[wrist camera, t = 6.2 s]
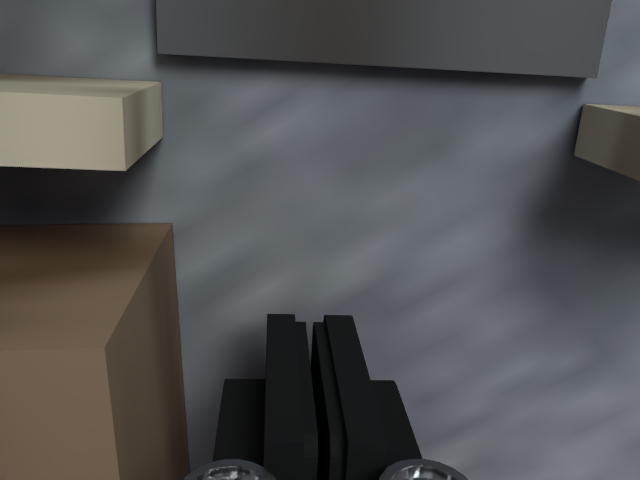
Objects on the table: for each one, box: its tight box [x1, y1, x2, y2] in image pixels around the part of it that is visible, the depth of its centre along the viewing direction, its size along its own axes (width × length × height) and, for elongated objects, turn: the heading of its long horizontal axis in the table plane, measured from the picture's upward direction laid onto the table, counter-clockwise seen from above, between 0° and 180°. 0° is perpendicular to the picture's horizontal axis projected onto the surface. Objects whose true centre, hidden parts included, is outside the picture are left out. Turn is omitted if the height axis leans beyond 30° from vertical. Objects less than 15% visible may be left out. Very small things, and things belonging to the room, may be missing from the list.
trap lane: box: [0, 0, 640, 181], centre depth 11 cm, size 21×22×3 cm
